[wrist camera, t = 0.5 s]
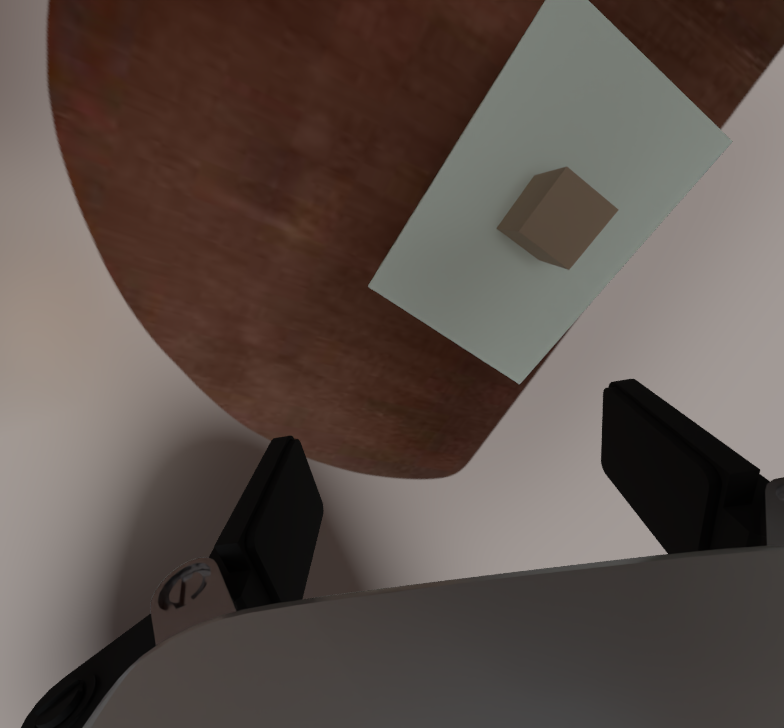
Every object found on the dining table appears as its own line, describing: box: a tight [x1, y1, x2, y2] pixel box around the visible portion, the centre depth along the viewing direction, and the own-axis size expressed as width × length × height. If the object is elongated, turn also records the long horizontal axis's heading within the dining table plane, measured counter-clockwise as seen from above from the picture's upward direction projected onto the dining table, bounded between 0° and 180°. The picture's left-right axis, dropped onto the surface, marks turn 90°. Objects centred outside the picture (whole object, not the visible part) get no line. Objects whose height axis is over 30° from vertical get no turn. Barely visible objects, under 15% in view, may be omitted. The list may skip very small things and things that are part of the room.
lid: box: [368, 0, 732, 384], centre depth 23 cm, size 21×15×6 cm
